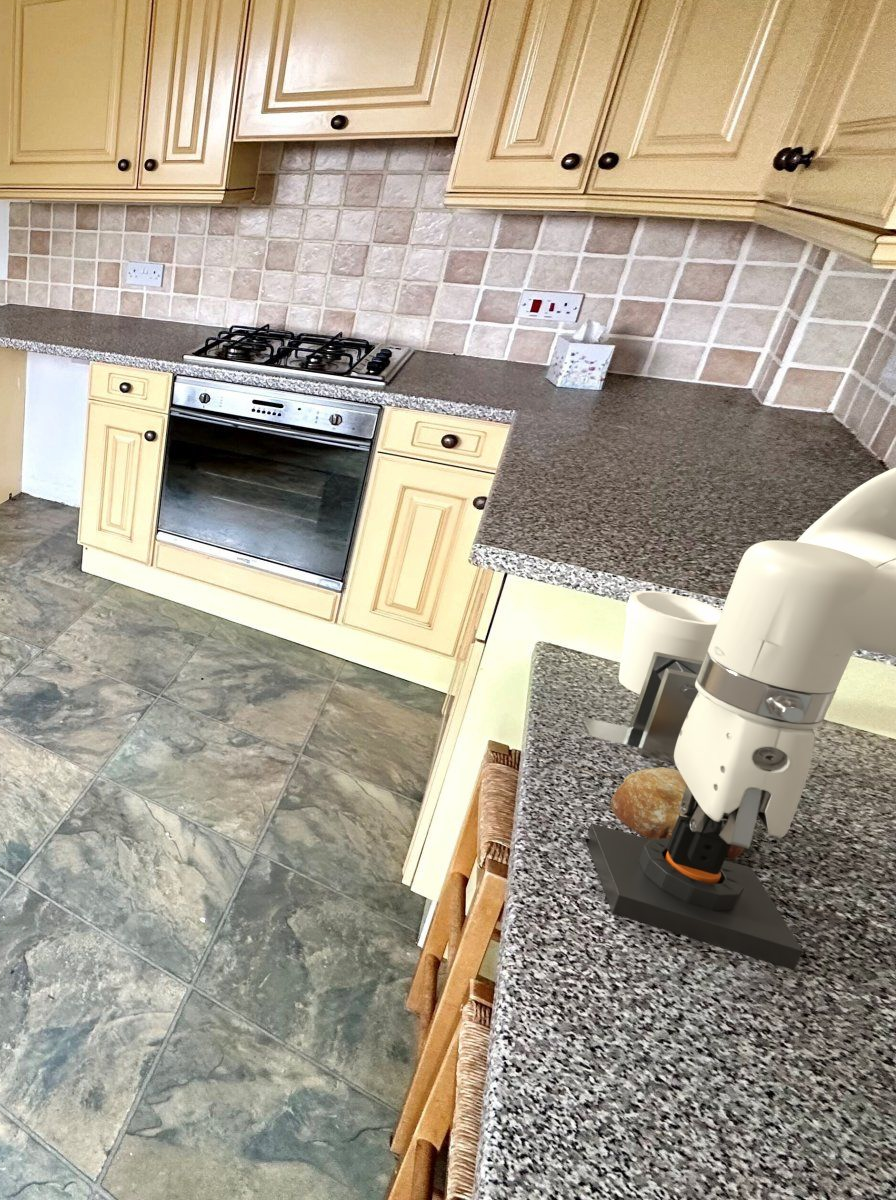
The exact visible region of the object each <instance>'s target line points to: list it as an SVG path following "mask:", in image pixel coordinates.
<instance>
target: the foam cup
mask: <svg viewBox="0 0 896 1200" xmlns="http://www.w3.org/2000/svg"><path fill="white" fill-rule="evenodd" d="M721 612H722V610H721V609H718V608H717V607H716V606H713V605H711V604H708V603H705V602H703V601H701V600H698V599H695V598H691V597H688V596H684V595H680V594H676V593H670V592H663V591H658V590H637V591H634V592H632V593H629V597H628V600H627V603H626V607H625V614H626V616H625V617H626V618H625V625H624V633H623V640H622V648H621V655H620V663H619V671H618V681H619V684H620V685H622V686H623V687H624V688H625V689H627V690H629V691H631V692H633V693H635V694H637V695H640V692H641V690H642V687H643V684H644V681H645V678H646V675H647V672H648V669H649V666H650V663H651V660H652V657H653V654H654V652H659V653H664V654H669V655H674V656H679V657H685V658H690V659H695V660H700V661H704V659H705V656H706V653H707V650H708V648H709V645H710V642H711V640H712V637H713V634H714V631H715V629H716V626H717V623H718V620H719V618H720V615H721Z"/></svg>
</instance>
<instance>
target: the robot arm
mask: <svg viewBox="0 0 896 1200" xmlns="http://www.w3.org/2000/svg"><path fill="white" fill-rule="evenodd" d="M721 611H722V612H721V615H720V618H719V620H718V623H717V626H716V629H715V631H714V634H713V637H712V640H711V642H710V645H709V648H708V650H707V653H706V656H705V659H704V661H703V664H702V667H701V669H700V672H699V675H698V677H697V680H696V682H695V687H696V689H697V690H698V694H697V696H696V698H695V700H694V702H693V704H692V706H691V708H690V710H689V712H688V714H687V717H686V719H685V721H684V724H683V726H682V729H681V731H680V734H679V737H678V740H677V743H676V747H675V751H674V760H675V766H676V768H677V770H678V771H679V772H680V774H681V775H682V777H683V779H684V781H685V782H686V788H685V792H684V795H683V799H682V802H681V806H680V811H681V814H682V815H685V816H687V817H684V816H680V815H679V817H678V820H677V822H676V825H675V827H674V830H673V833H672V835H671V838H670V840H669V843H668V845H667V850H668V852H669V854H670V855H671V858H672V860H673V862H674V863H676V864H680V865H683V866H687V867H690V868H694V869H697V870H701V871H704V872H708V873H711V874H718V873H719V872H720V870H721V867H722V865H723V863H724V860H726V859H725V858H726V855H727V853H728V851H729V848H730V846H731V845H734V846H737V847H741V848H744V850H749V849H750V847H751V844H752V840H753V836H754V833H755V828H756V824H757V821H759V822H760V823H761V825H762V826H763V828H764V829H765V831H766V832H767V834H768V835H769V836H772V837H773V838H777V839H782V838H784V837H785V836H786V835H788V834H787V833H788V832H789V829H790V827H791V825H792V823H793V819H794V818H795V815H796V811H797V809H798V806H799V803H800V801H801V798H802V794H803V792H804V789H805V785H806V782H807V778H808V776H809V771H810V768H811V764H812V759H813V758H812V757H813V753H814V748H815V747H814V746H815V739H816V733H815V730H816V729H818V728H820V727H821V726H822V724H823V722H824V720H825V717H826V715H827V713H828V711H829V708H830V706H831V704H832V702H833V699H834V698H835V697H834V696H835V694H836V692H837V690H838V687H839V685H840V683H841V680H842V678H843V676H844V673H845V671H846V669H847V666H848V665H849V662H850V659H851V657H852V655H853V653H854V652H856V651H859V650H860V651H862V650H863V651H869V652H873V653H878V654H883V655H887V656H891V657H894V658H895V657H896V467H893V468H891V469H888V470H885V471H884V472H882V473H880V474H878V475H876V476H874V477H873V478H871V479H869V480H867V481H866V482H863V483H862V484H861V485H859V486H858V487H856V488H855V489H854V490H852V491H850V492H849V493H848V494H847V495H845V496H844V497H843V498H842V499H840V501H838V502H837V503H836V504H834V505H833V506H832V507H831V508H830V509H829V510H828V511H826V512H825V513H824V514H823V515H822V516H820V517H819V518H818V519H817V520H816V521H814V522H813V523H812V524H811V525H810V526H809V527H808V528H807V529H806V530H805V531H804V532H803V533H802V534H801V535H800V536H799V537H798V539H797V540H796V541H795V540H779V539H778V540H777V539H775V540H772V539H769V540H764V541H760V542H756V543H754V544H753V545H751V546H749V547H748V548H747V549H746V550H745V552H743V555H742V557H741V559H740V561H739V564H738V567H737V569H736V571H735V575H734V578H733V581H732V583H731V586H730V588H729V591H728V593H727V596H726V600H725V602H724V604H723V607H722V610H721ZM727 820H728V821H727Z"/></svg>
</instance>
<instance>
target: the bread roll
mask: <svg viewBox="0 0 896 1200" xmlns="http://www.w3.org/2000/svg"><path fill="white" fill-rule="evenodd" d="M685 788H686V782H685V781H684V779H683V777H682V775H681V774H680V772H679V770H678V769H676V768H671V767H663V766H662V767H660V766H659V767H651V768H644V769H643V768H642V769H639V770H637V771H635V772H633V773H628V774H627V776H626V777H625V778H624V779H623V782H622V784H620V785H619V786H618V788H617V789H616V791H615V792H614V794H613V796H612V797H611V799H610V800H611V801H610V808H611V810H612V812H613V814H614V816H615V817H616V818H618V820H619V821H620V822H622V823H623V824H624V825H625V826H627V827H628V828H630V830H633V831H634V832H636V833H637V834H639V835H641V836H642V837H643V838H646V839H665V838H668V839H670V838H671V835H672V833H673V830H674V827H675V825H676V822H677V820H678V817H679V815H680V816H684V817H687V816H685V815H682V814H681V811H680V806H681V802H682V799H683V795H684V792H685ZM727 821H728V820H727ZM744 850H745V848H741V847H737V846H734V845H731V846H730V848H729V851H728V853H727V855H726V858H725V860H735V859H737V858H738V857H739V856H740V855H741V854H742V853H743V852H744Z"/></svg>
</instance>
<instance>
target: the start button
mask: <svg viewBox="0 0 896 1200" xmlns="http://www.w3.org/2000/svg"><path fill="white" fill-rule="evenodd" d="M665 861H666V862H667V863H668V864H669V865H671V866H672V867H673V868H674V869H675V870H677V871H678V872H680V873H682V874H684V875H686V876H688V877H690V878H692V879H695V880H698V881H702V882H705V883H709V884H718V882H719V880H720V877H721V872H719V873H718V874H711V873H708V872H704V871H701V870H697V869H694V868H690V867H687V866H683V865H680V864H676V863H674V862H673V860H672V858H671V855H670V854H669V852H667V854H666V857H665Z"/></svg>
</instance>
